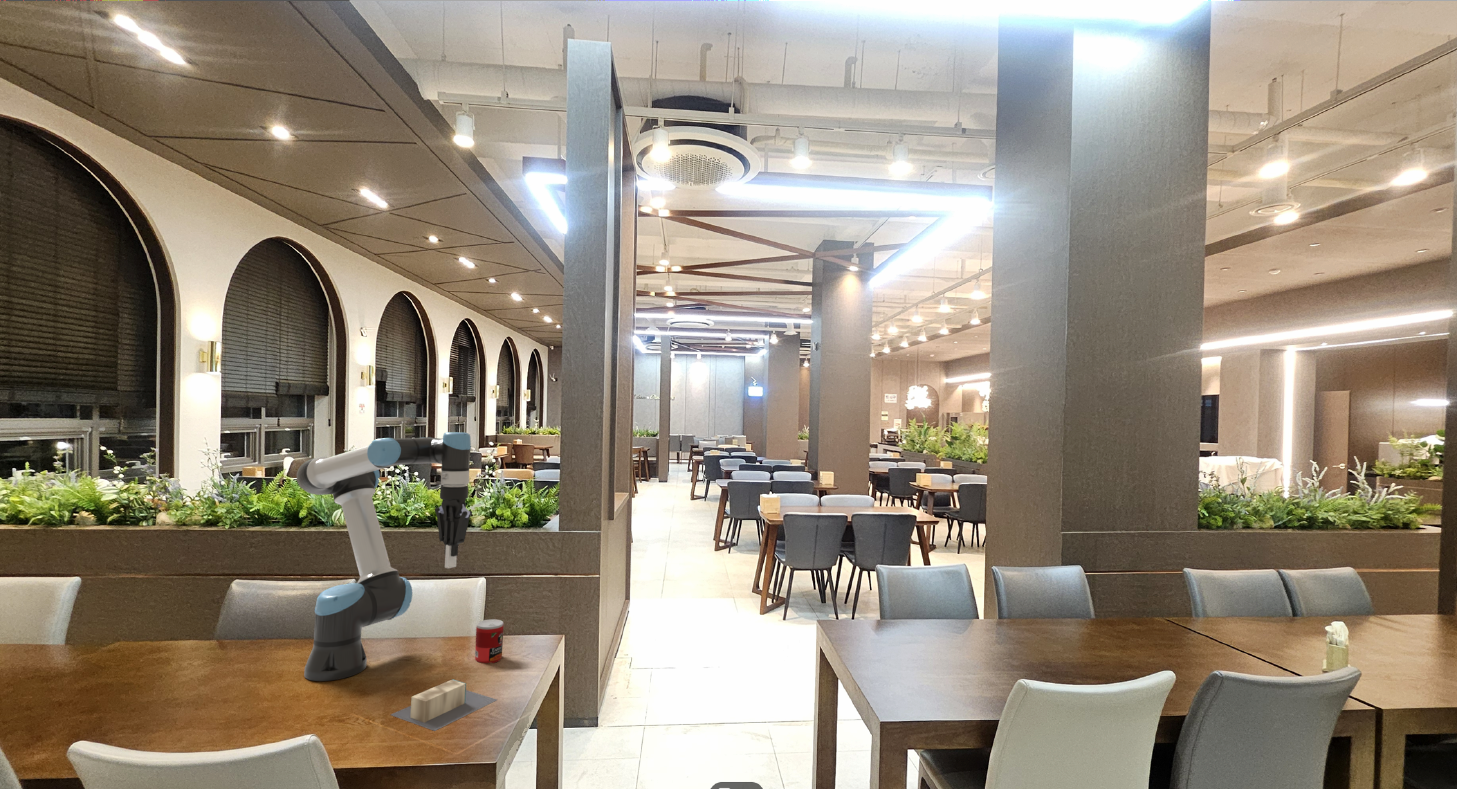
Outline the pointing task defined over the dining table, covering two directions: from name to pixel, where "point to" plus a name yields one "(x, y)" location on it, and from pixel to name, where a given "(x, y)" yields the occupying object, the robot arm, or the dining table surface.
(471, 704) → the mat
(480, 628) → the canned food
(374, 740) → the dining table surface
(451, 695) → the beech block
